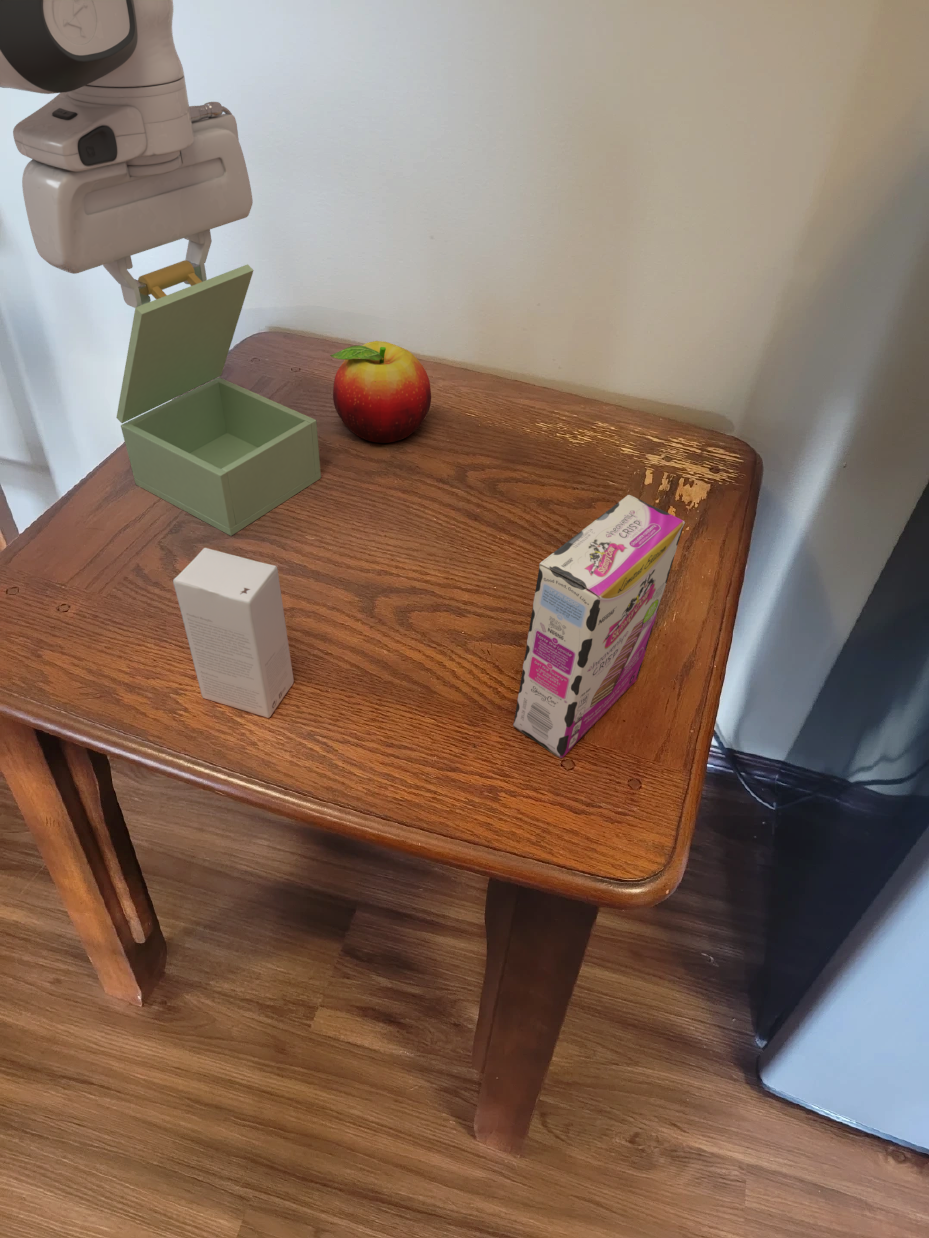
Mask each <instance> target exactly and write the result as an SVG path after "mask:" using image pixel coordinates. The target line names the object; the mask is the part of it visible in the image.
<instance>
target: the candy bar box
mask: <svg viewBox="0 0 929 1238" xmlns="http://www.w3.org/2000/svg"><path fill="white" fill-rule="evenodd" d="M685 524H686V522H685V520H683V519H681V518H679V517H678V516H675V515H673V514H671V513H669V512H666V511H665V510H663V509H660V508H658V507H656V506H654V505H651V504H649V503H647V502H646V501H643V500H642V499H639V498H638V497H635V496H633V495H630V494H627V495H626V496H625V497H623V498H622V499H621V500H619V501H618V502H617V503H616V504H614V505H612V507H610V508H609V509H608V510H607V511H605V512H604V513H603V514H602V515H600V516H598V518H596V519H595V520H593V521H592V522H591V523H590V524H588V525H587V526H586V527H585V528H583V529H582V530H580V531H579V532H578V533H576V535H574V536H572V537H571V538H570V539H569V540H568V541H566V542H565V543H564V544H562V545H561V546H559V548H557V549H556V550H554V551H553V552H552V553H550V555H548V556H547V557H545V559H543V560H542V561H541V562H539V564H538V572H537V579H536V585H535V590H534V597H533V602H532V609H531V615H530V616H531V617H530V621H529V627H528V631H527V632H528V634H527V639H526V647H525V653H524V654H525V655H524V658H523V664H522V671H521V677H520V684H519V690H518V694H517V701H516V706H515V713H514V718H513V719H514V720H513V724H512V726H513V727H514V728H515V729H516V730H518V732H519V731H520V733H522V734H523V735H525V736H527V737H528V738H530V739H531V740H532V741H534V742H536V743H537V744H539V745H540V746H541V747H543V748H544V749H546V750H547V751H548V752H550V753H551V754H553V755H554V756H556V757H558V758H559V759H564V757H565V756H566V755H567V754H568V753H569V752H571V750H572V749H573V748H574V747H575V745H576V744H577V743H578V742H579V741H580V740H581V739H582V738H583V737H584V736H585V735H586V734H587V733H588V732H589V731H590V730H591V729H592V727H593V726H594V725H596V723H597V722H598V721H599V720H600V719H601V718H602V717H603V716H604V715H605V714H606V713H607V712H608V711H609V710H610V709H611V708H612V707H613V706H614V704H616V703H617V701H618V700H619V699H620V698H621V697H622V696H623V695H624V694H626V692H627V691H628V690H629V689H630V688H631V687H632V686H633V685H634V684H635V683H636V682H637V680H638V679H639V675H640V672H641V668H642V666H643V662H644V659H645V655H646V652H647V649H648V645H649V642H650V639H651V635H652V632H653V628H654V624H655V622H656V618H657V615H658V611H659V608H660V604H661V602H662V598H663V595H664V592H665V590H666V586H667V583H668V579H669V575H670V572H671V570H672V566H673V563H674V559H675V556H676V552H677V549H678V545H679V542H680V540H681V535H682V533H683V530H684V526H685Z"/></svg>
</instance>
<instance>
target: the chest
mask: <svg viewBox="0 0 929 1238" xmlns="http://www.w3.org/2000/svg"><path fill="white" fill-rule="evenodd" d="M120 429H121V433H122V437H123V440H124V441H123V442H124V444H125V445H124V446H125V449H126V451H127V457H128V461H129V463H130V467H131V472H132V475H133V479H134V483H135V485H136V486H137V487H140V488H142V489H143V490H145V491H147V492H149V493H151V494H153V495H154V496H156V497H158V498H160V499H162V500H164V501H165V502H167V503H169V504H170V505H173V506H174V507H177V508H178V509H180V510H182V511H184V512H186V513H187V514H189V515H191V516H194V517H195V518H197V519H198V520H200V521H202V522H204V523H206V524H208V525H210V526H212V527H214V528H215V529H217V530H219V531H221V532H223V533H225V534H227V535H228V536H231V537H232V536H234V535H235V534H237V533H238V532H239V531H241V530H243V529H244V528H246V527H248V526H249V525H251V524H252V523H254V522H255V521H257V520H258V519H260V518H261V517H263V516H265V515H266V514H267V513H269V512H270V511H273V510H274V509H276V508H277V507H278V506H280V505H282V504H283V503H285V502H286V501H288V500H289V499H291V498H293V497H294V496H296V495H297V494H299V493H300V492H302V491H303V490H305V489H307V488H308V487H309V486H311V485H313V484H314V483H316V482H317V481H319V480H320V479H321V478H322V473H321V460H320V448H319V437H318V436H319V435H318V434H319V433H318V424H317V419H315V418H312V417H310V416H308V415H305V414H304V413H301V412H299V411H297V410H294V409H292V408H290V407H288V406H285V405H283V404H281V403H279V402H276V401H274V400H272V399H270V398H267V397H266V396H263V395H261V394H258V393H256V392H254V391H251V390H249V389H247V388H245V387H242V386H240V385H238V384H236V383H233V382H230V381H229V380H226V379H224V378H222V377H221V376H219V377H217V378H215V379H213V380H211V381H209V382H207V383H205V384H203V385H201V386H199V387H197V388H194V389H192V390H190V391H188V392H186V393H184V394H182V395H180V396H178V397H176V398H174V399H172V400H170V401H168V402H165V403H163V404H161V405H159V406H157V407H155V408H153V409H151V410H149V411H147V412H145V413H143V414H141V415H139V416H136V417H134V418H132V419H130V420H128V421H126V422H124V423H121V424H120Z"/></svg>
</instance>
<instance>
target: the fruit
mask: <svg viewBox="0 0 929 1238" xmlns="http://www.w3.org/2000/svg"><path fill="white" fill-rule="evenodd" d="M329 356H330V357H331V358H333V359H336V360H343V362H342V363H341V365H340V366H339V367H338V369H337V370H336V373H335V376H334V380H333V387H332V400H333V406H334V407H335V411H336V413H337V415H338V417H339V418H340V420H341V422H342V423H343V425H344V426H345V428H347V429H348V430H349V431H350V432H352V433H353V434H355V435H356V436H357V437H359V438H361V439H363V440H366V441H369V442H371V443H376V444H377V443H380V444H388V443H394V442H398V441H400V440H403V439H405V438H408V437H409V436H410V435H412V434H414V432H416V431H417V430H418V429H419V428H420V427H421V426H422V425H423V422H424V421H425V419H426V417H427V415H428V414H429V411H430V407H431V403H432V391H431V389H432V387H431V382H430V378H429V375H428V373H427V370H426V369H425V367H424V366H423V364H422V363H421V362H420V360H419V359H418V358H417V357H416V356H415V354H413V353H412V352H411V351H410V350H408V349H406V348H404V347H403V346H399V345H396V344H394V343H391V342H388V341H383V340H373V341H368V342H366V343H364V344H363V345H360V344H359V345H357V344H356V345H351V346H348V347H346V348H343V349H342V350H339V351H337V352H335V353H333V354H330V355H329Z"/></svg>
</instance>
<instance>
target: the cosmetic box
mask: <svg viewBox="0 0 929 1238" xmlns="http://www.w3.org/2000/svg"><path fill="white" fill-rule="evenodd" d="M280 583H281V582H280V576H279V569H278V566H277V565H274V564H270V563H266V562H261V561H257V560H253V559H250V558H246V557H242V556H238V555H234V554H231V553H227V552H223V551H219V550H216V549H211V548H208V547H204V548H202V550H201V551H200V552H199V553H198V554H196V556H195V557H194V558H193V559H192V560H191V561H190V563H188V564H187V566H185V568H183V570H182V571H181V572H179V573H178V575H176V577H174V578H173V579H172V584H173V587H174V591H175V595H176V598H177V603H178V607H179V610H180V614H181V619H182V622H183V626H184V630H185V635H186V638H187V639H186V640H187V642H188V647H189V650H190V654H191V658H192V662H193V666H194V671H195V675H196V678H197V683H198V686H199V691H200V695H201V697H202V699H205V700H208V701H212V702H215V703H218V704H222V705H224V706H228V707H230V708H235V709H238V710H241V711H244V712H247V713H250V714H254V715H257V716H260V717H264V718H266V719H269V718H270V717H271V716H272V715H273V713H274V712H275V711H276V709H277V708H278V706H279V705H280V703H281V701H282V700H283V699H284V697H285V696H286V695H287V693H288V692H289V690H290V689H291V687H292V686H293V684H294V683H295V679H294V673H293V666H292V665H293V664H292V658H291V653H290V645H289V639H288V638H289V637H288V630H287V625H286V618H285V611H284V610H285V609H284V605H283V597H282V590H281V584H280Z"/></svg>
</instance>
